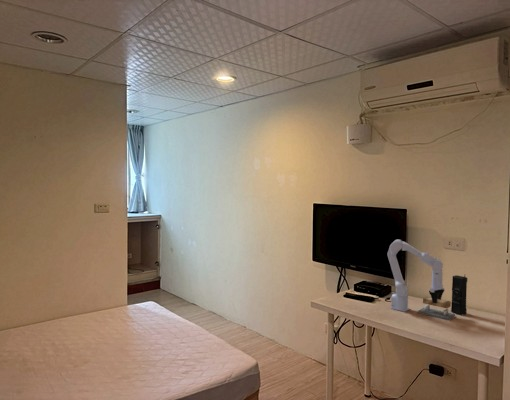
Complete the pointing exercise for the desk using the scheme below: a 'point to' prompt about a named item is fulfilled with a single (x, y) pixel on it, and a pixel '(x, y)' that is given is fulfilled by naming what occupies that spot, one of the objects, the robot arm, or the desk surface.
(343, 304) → the desk surface
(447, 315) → the peg stand
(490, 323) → the desk surface
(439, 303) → the shelf board
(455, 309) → the portable radio
